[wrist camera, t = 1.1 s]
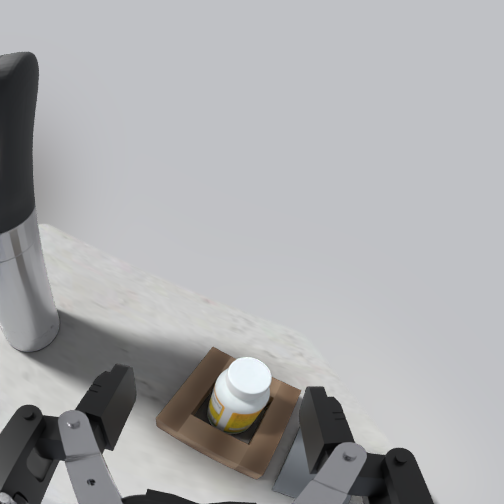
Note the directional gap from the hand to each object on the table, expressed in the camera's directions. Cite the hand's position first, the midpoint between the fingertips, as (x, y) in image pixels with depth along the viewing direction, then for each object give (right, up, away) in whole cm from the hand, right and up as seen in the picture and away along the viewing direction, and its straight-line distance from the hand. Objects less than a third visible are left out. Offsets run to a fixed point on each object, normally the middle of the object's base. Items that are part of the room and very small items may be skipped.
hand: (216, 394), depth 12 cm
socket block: (-1, -12, +17) cm, 21 cm away
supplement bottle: (-1, -12, +17) cm, 21 cm away
